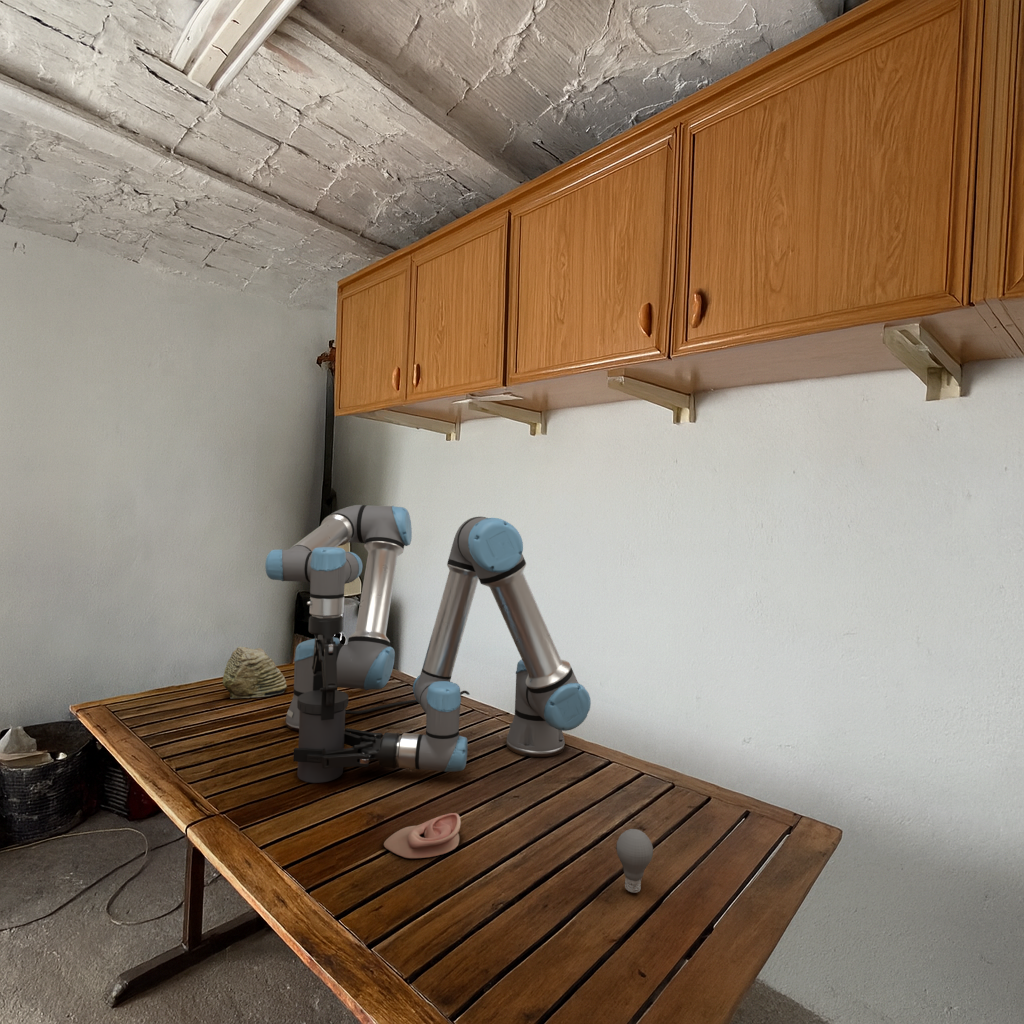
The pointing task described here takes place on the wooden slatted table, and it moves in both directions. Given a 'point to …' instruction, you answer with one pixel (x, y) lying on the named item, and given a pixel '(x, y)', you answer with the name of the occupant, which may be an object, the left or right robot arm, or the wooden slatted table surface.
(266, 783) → the wooden slatted table surface
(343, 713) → the jar
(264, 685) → the fossil
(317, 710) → the lid
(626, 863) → the light bulb
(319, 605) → the left robot arm
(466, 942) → the wooden slatted table surface
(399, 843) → the anatomical model
